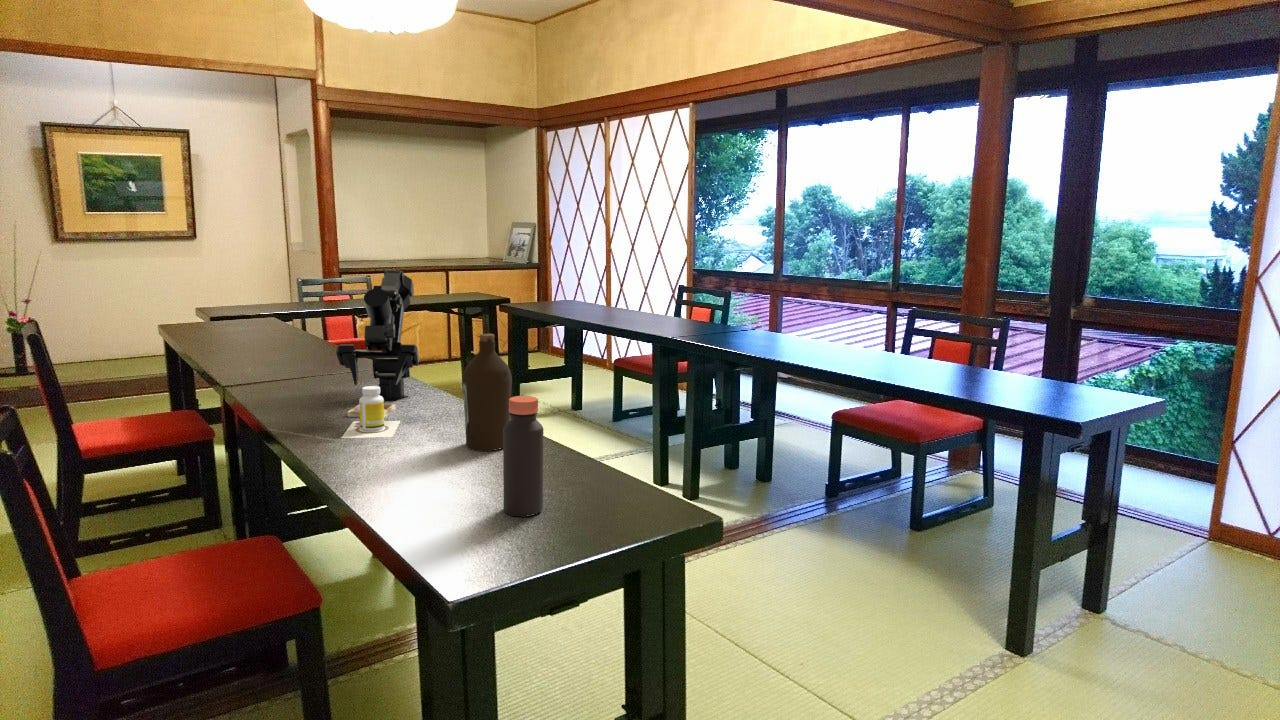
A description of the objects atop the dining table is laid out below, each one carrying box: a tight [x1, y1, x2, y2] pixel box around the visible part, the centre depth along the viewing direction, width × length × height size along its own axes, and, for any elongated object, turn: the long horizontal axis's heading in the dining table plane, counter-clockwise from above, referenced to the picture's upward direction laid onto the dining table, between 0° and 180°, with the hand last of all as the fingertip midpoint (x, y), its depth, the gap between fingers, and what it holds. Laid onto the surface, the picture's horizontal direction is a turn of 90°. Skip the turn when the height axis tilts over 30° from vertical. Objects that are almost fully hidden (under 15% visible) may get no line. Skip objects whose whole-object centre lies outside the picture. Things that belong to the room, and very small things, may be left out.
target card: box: [340, 420, 401, 439], centre depth 176 cm, size 14×11×1 cm
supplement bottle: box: [358, 385, 385, 431], centre depth 175 cm, size 5×5×10 cm
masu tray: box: [347, 403, 397, 418], centre depth 190 cm, size 9×9×2 cm
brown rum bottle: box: [461, 333, 513, 452], centre depth 165 cm, size 11×11×25 cm
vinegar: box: [502, 395, 544, 517], centre depth 129 cm, size 7×7×20 cm
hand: (375, 384), depth 180 cm, fingers open, 9 cm apart
